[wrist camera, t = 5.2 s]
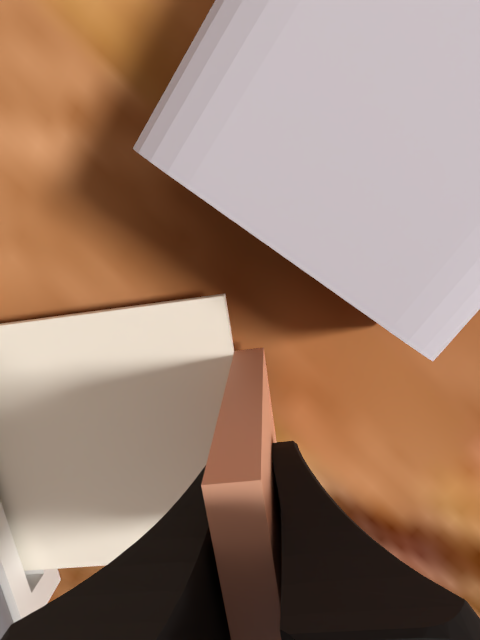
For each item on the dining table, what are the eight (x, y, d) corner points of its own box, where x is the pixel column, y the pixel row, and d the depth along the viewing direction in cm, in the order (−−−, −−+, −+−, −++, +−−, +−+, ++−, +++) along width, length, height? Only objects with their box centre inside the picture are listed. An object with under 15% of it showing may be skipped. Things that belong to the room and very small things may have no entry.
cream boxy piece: (255, 289, 13) (243, 365, 6) (290, 544, 15) (311, 809, 8) (-79, 334, 14) (-410, 440, 7) (1, 564, 16) (-191, 811, 9)
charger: (749, -117, 10) (385, 324, 14) (485, -362, 10) (169, 171, 13) (1130, -385, 6) (444, 373, 9) (684, -891, 5) (118, 144, 9)
